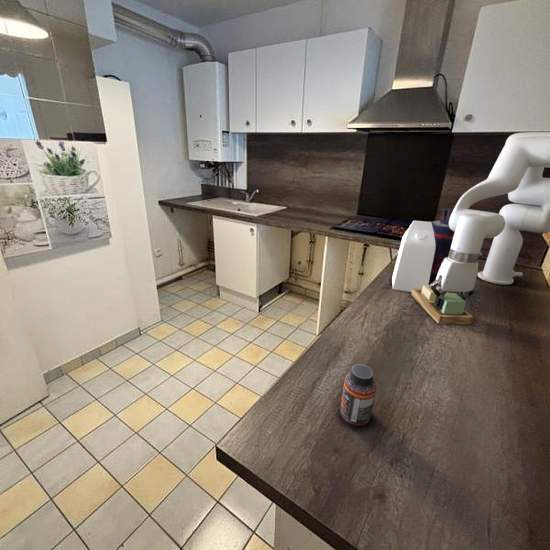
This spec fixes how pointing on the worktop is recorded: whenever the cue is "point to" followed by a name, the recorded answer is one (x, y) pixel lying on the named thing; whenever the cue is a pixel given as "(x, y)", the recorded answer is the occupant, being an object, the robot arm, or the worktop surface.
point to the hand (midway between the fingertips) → (448, 307)
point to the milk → (414, 257)
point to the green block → (452, 304)
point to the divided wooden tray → (438, 315)
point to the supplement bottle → (358, 395)
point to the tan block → (428, 293)
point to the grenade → (441, 241)
